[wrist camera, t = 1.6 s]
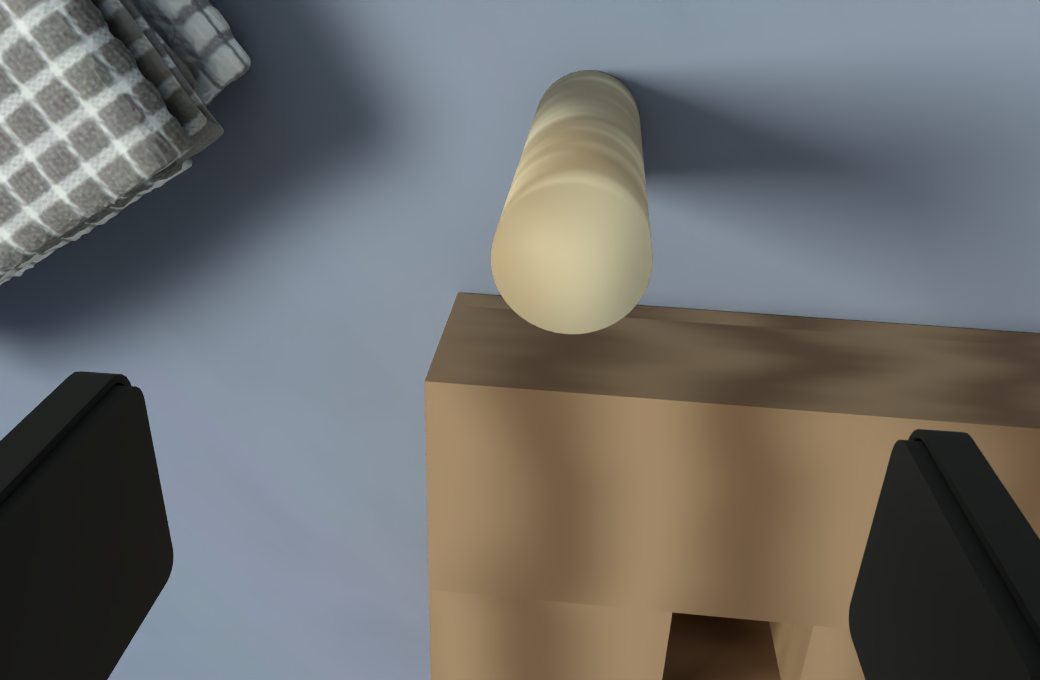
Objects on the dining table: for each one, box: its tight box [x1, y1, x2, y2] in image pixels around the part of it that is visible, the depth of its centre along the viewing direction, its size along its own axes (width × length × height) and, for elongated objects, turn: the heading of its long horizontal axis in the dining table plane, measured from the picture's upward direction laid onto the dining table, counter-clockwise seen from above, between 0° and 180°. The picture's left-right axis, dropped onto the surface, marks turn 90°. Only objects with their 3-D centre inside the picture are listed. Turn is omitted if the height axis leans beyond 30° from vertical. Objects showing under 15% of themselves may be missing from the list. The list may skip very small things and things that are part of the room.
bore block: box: [425, 293, 1040, 680], centre depth 32 cm, size 20×20×6 cm
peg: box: [491, 70, 653, 334], centre depth 23 cm, size 3×3×11 cm
